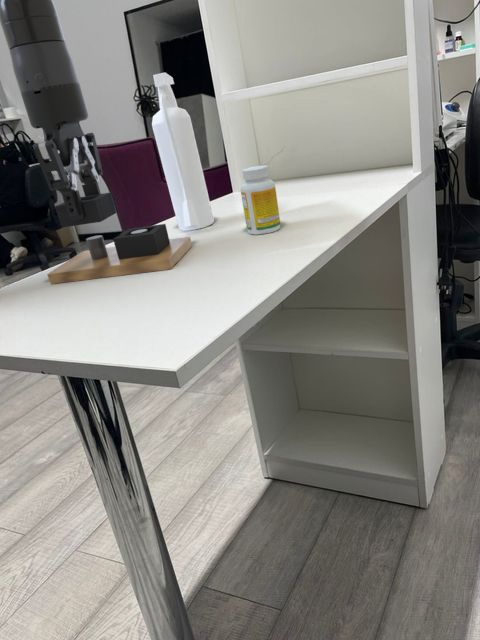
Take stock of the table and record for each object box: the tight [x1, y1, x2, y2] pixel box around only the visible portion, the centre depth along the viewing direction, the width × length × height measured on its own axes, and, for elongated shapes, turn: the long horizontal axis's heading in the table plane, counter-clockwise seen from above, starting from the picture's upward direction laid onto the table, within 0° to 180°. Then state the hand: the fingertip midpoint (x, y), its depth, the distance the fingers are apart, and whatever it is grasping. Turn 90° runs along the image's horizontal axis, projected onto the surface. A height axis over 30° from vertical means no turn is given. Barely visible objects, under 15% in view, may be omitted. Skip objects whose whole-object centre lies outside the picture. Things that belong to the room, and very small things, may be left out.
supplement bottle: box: [240, 165, 281, 236], centre depth 84 cm, size 5×5×10 cm
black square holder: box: [112, 223, 170, 259], centre depth 78 cm, size 6×6×3 cm
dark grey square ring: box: [54, 192, 117, 228], centre depth 77 cm, size 6×6×3 cm
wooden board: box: [47, 229, 193, 285], centre depth 79 cm, size 18×12×4 cm, turn 83°
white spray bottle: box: [151, 72, 215, 232], centre depth 92 cm, size 7×12×25 cm, turn 178°
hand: (87, 213), depth 78 cm, fingers closed on dark grey square ring, 6 cm apart
